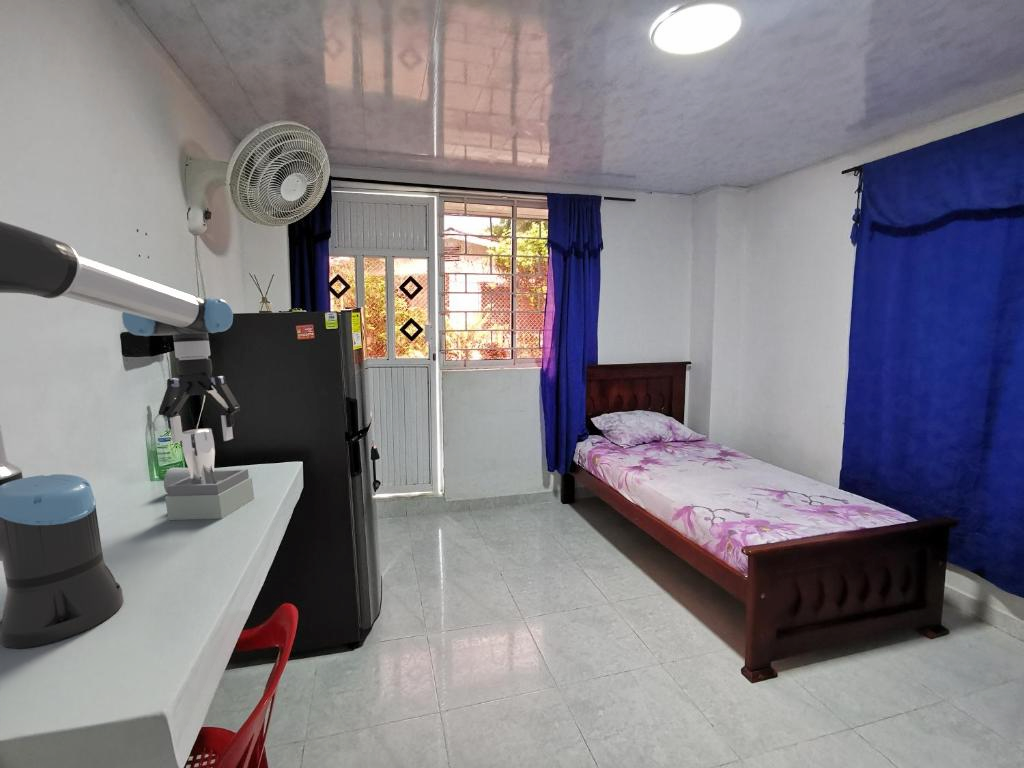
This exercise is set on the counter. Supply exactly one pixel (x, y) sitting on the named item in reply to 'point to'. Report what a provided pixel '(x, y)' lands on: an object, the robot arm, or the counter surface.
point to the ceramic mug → (175, 476)
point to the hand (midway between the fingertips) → (203, 440)
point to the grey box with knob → (209, 496)
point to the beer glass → (199, 455)
